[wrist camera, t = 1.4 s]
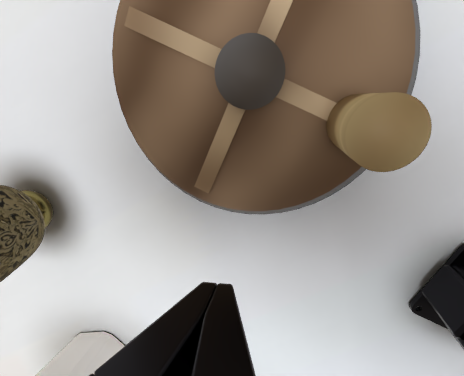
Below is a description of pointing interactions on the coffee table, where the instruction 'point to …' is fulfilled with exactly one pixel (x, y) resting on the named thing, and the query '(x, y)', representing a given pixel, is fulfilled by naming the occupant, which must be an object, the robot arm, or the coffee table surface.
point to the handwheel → (268, 94)
